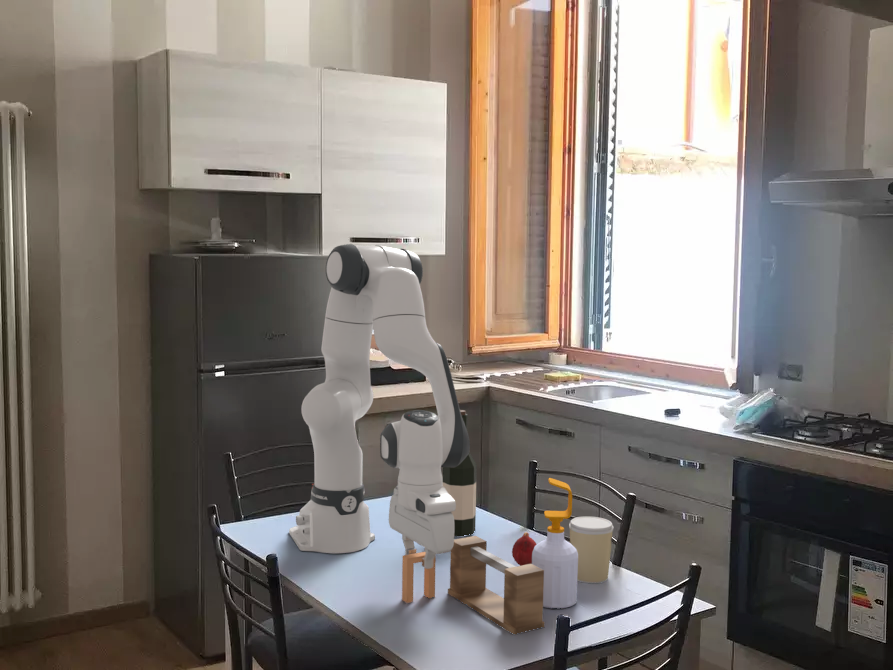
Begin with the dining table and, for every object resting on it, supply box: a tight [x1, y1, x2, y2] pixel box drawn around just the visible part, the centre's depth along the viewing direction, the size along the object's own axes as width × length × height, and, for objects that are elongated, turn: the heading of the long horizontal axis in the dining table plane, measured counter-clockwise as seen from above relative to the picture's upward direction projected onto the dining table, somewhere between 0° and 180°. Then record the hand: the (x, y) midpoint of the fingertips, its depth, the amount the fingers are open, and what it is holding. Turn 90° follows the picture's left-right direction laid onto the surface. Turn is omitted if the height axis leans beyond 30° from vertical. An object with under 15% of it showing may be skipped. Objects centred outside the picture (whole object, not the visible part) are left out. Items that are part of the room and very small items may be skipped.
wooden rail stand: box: [447, 535, 546, 635], centre depth 183 cm, size 23×7×11 cm, turn 31°
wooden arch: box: [401, 551, 437, 604], centre depth 188 cm, size 2×6×9 cm, turn 121°
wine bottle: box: [442, 409, 478, 537], centre depth 231 cm, size 8×8×30 cm
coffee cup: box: [568, 515, 614, 584], centre depth 202 cm, size 9×9×12 cm
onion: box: [511, 531, 538, 566], centre depth 207 cm, size 6×6×8 cm
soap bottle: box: [532, 477, 578, 610], centre depth 187 cm, size 9×9×25 cm
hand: (419, 562), depth 188 cm, fingers open, 5 cm apart
